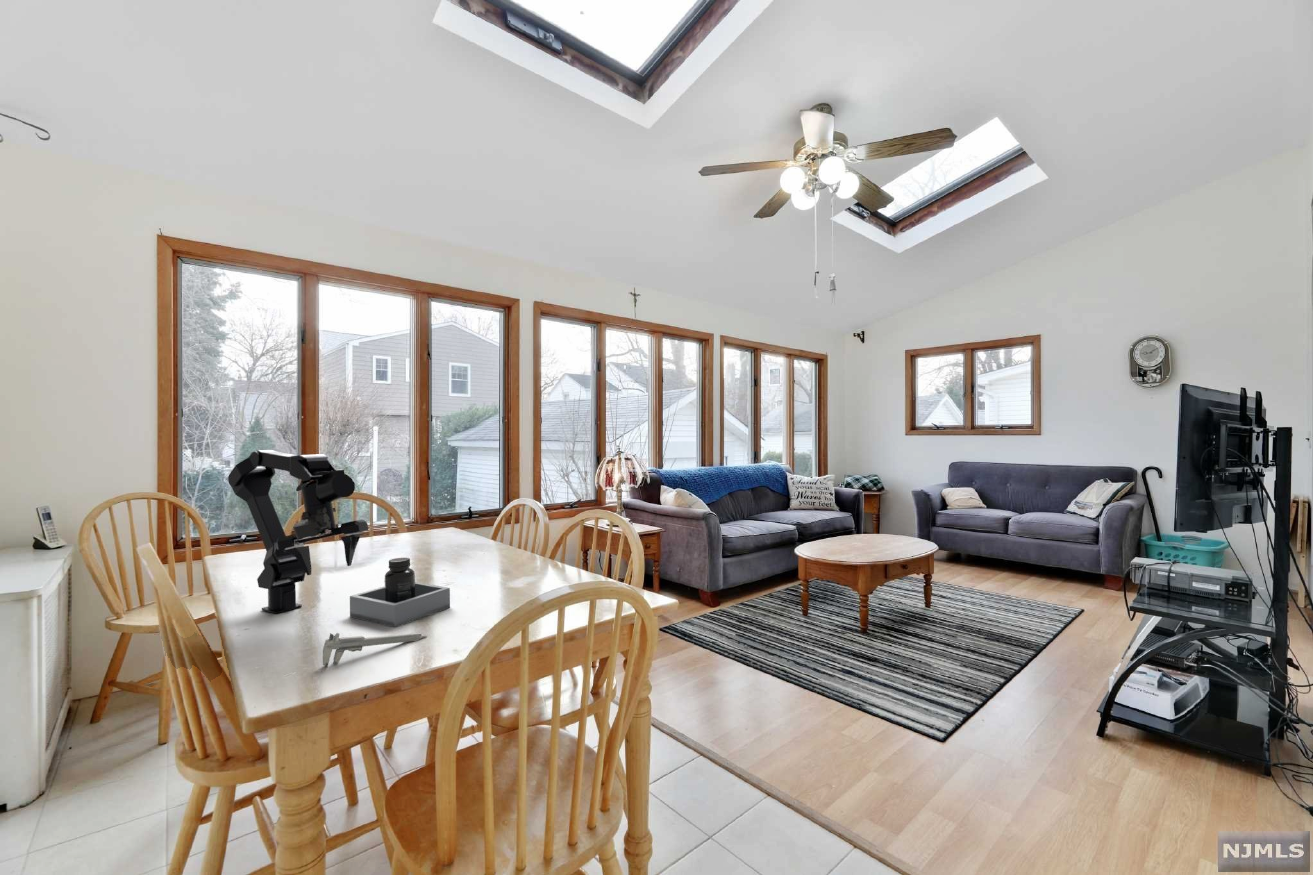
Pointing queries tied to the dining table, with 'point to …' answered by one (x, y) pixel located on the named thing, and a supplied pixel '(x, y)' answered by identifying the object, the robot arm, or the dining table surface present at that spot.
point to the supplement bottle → (399, 581)
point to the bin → (399, 605)
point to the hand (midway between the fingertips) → (329, 570)
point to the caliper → (361, 644)
